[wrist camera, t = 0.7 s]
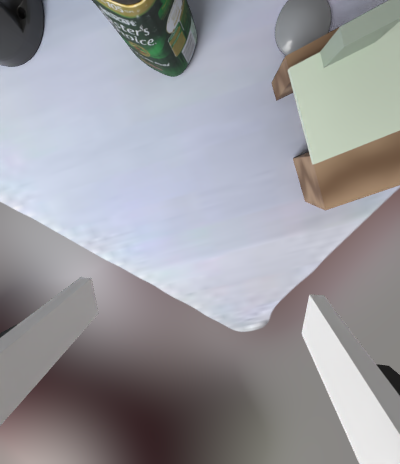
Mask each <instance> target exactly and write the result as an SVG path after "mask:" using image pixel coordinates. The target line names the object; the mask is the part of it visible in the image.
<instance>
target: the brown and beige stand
mask: <svg viewBox="0 0 400 464" xmlns="http://www.w3.org/2000/svg"><path fill="white" fill-rule="evenodd" d="M338 29H339V28H337V29H335V30H333V31H331V32H329V33H328V34H326V35H324V36H322V37H320V38H318V39H316V40H315V41H313V42H311V43H309V44H307V45H305V46H303V47H302V48H300V49H298V50H296V51H294V52H292V53H290V54H289V55H287V56H285V58H284V60H283V62H282V64H281V66H280V68H279V70H278V71H277V73H276V75H275V77H274V79H273V81H272V86H273V90H274V93H275V97H276V101H277V100H279V99H281V98H283V97H285V96H287V95H289V94H291V93H293V89H292V85H291V82H290V78H289V74H288V69H289V68H290V67H292V66H294V65H296V64H298V63H300V62H302V61H304V60H305V59H307V58H309V57H311V56H313V55H315V54H317V53H319V52H320V51H321V50H322V49H323V48H324V46H325V45H326V44H327V43H328V41H329V40H330V39H331V38H332V36H333V35H334V34H335V32H336V31H337V30H338ZM293 160H294V164H295V167H296V171H297V174H298V178H299V181H300V185H301V189H302V192H303V196H304V199H305V202H308V203H310V204H312V205H315V206H317V207H319V208H321V209H324V210H328V209H331V208H334V207H337V206H340V205H343V204H345V203H348V202H351V201H354V200H357V199H360V198H363V197H366V196H369V195H372V194H375V193H378V192H381V191H384V190H387V189H390V188H393V187H396V186H398V185H400V131H397V132H395V133H392V134H390V135H387V136H385V137H382V138H379V139H377V140H374V141H372V142H369V143H367V144H364V145H362V146H359V147H357V148H354V149H352V150H349V151H347V152H344V153H342V154H339V155H337V156H334V157H332V158H329V159H327V160H324V161H322V162H319V163H316V164H312V162H311V158H310V154H309V152H308V153H305V154H303V155H301V156H298V157H296V158H293Z"/></svg>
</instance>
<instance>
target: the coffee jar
mask: <svg viewBox="0 0 400 464" xmlns="http://www.w3.org/2000/svg"><path fill="white" fill-rule="evenodd" d="M92 1H93V2H94V3H95V4H96V5H97V7H98V8H99V9H100V10H101V12H102V13H103V14H104V15H105V17H106V18H107V19H108V20H109V22H110V23H111V24H112V25H113V27H114V28H115V29H116V30H117V32H118V33H119V34H120V35H121V37H122V38H123V39H124V41H125V42H126V43H127V45H128V46H129V47H130V49H131V50H132V51H133V52H134V54H135V55H136V56H137V57H138V58H139V59H140V60H142V61H143V62H144V63H145V64H147V65H148V66H150V67H151V68H153V69H154V70H156V71H158V72H160V73H162V74H165V75H167V76H178V75H180V74H181V73H182V72H183V71H184V70H185V69H186V67H187V66H188V64H189V62H190V60H191V58H192V55H193V52H194V49H195V46H196V41H197V33H196V28H195V24H194V21H193V18H192V14H191V11H190V8H189V6H188V3H187V0H92Z"/></svg>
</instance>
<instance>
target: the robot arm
mask: <svg viewBox="0 0 400 464" xmlns="http://www.w3.org/2000/svg"><path fill="white" fill-rule="evenodd" d="M43 24H44V17H43V7H42V1H41V0H0V65H3V66H8V67H15V66H19V65H22V64H24V63H26V62H27V61H28V60H30V59H31V58H32V56H33V55H34V54H35V52H36V51H37V49H38V47H39V44H40V42H41V38H42V33H43ZM97 315H98V308H97V303H96V298H95V293H94V288H93V283H92V278H82V277H81V278H79V279H78V280H76V281H75V282H74V283H72V284H71V285H70V286H68V287H67V288H66V289H64V290H63V291H62V292H61V293H59V294H58V295H57V296H55V297H54V298H53V299H51V300H50V301H49V302H47V303H46V304H45V305H43V306H42V307H41V308H39V309H38V310H37V311H36V312H34V313H33V314H31V315H30V316H29V317H27V318H26V319H25V320H24V321H22V322H21V323H19V324H18V325H15V326H13V327H11V328H9V329H8V330H6V331H4V332H2V333H1V334H0V425H1V424H2V423H3V422H4V421H5V420H6V419H7V417H8V416H9V415H10V414H11V413H12V412H13V411H14V409H15V408H16V407H17V406H18V405H19V404H20V403H21V401H22V400H23V399H24V398H25V397H26V396H27V395H28V394H29V392H30V391H31V390H32V389H33V388H34V387H35V386H36V384H37V383H38V382H39V381H40V380H41V379H42V378H43V376H44V375H45V374H46V373H47V372H48V371H49V370H50V368H51V367H52V366H53V365H54V364H55V363H56V362H57V360H58V359H59V358H60V357H61V356H62V355H63V354H64V352H65V351H66V350H67V349H68V348H69V347H70V346H71V344H72V343H73V342H74V341H75V340H76V339H77V338H78V336H79V335H80V334H81V333H82V332H83V330H85V328H86V327H87V326H88V325H89V324H90V323H91V322H92V320H93V319H94V318H95V317H96V316H97ZM302 336H303V338H304V340H305V342H306V344H307V347H308V349H309V351H310V354H311V356H312V358H313V360H314V363H315V365H316V367H317V369H318V372H319V374H320V376H321V378H322V381H323V383H324V385H325V387H326V389H327V392H328V393H329V396H330V398H331V401H332V403H333V405H334V407H335V410H336V412H337V414H338V417H339V419H340V421H341V423H342V425H343V428H344V430H345V432H346V434H347V437H348V439H349V441H350V443H351V446H352V448H353V450H354V452H355V455H356V457H357V459H358V461H359V464H400V375H399V374H398V373H397V372H395V371H394V370H393V369H392V368H391V367H389V366H385V365H377V364H375V362H374V361H373V360H372V358H371V357H370V356H369V354H368V353H367V352H366V351H365V349H364V348H363V346H362V345H361V344H360V342H359V341H358V340H357V338H356V337H355V336H354V335H353V333H352V332H351V330H350V329H349V328H348V327H347V325H346V324H345V323H344V321H343V320H342V319H341V317H340V316H339V314H338V313H337V312H336V310H335V309H334V308H333V306H332V305H331V304H330V303H329V301H328V300H327V299H326V297H325V296H323V295H309V300H308V305H307V310H306V315H305V320H304V325H303V329H302Z"/></svg>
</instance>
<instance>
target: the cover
mask: <svg viewBox="0 0 400 464" xmlns="http://www.w3.org/2000/svg"><path fill="white" fill-rule="evenodd" d="M288 74H289V78H290V82H291V85H292V89H293V93H294V97H295V101H296V104H297V108H298V112H299V116H300V120H301V123H302V127H303V131H304V135H305V139H306V143H307V146H308V150H309V154H310V158H311V162H312V164H316V163H319V162H322V161H324V160H327V159H329V158H332V157H334V156H337V155H339V154H342V153H344V152H347V151H349V150H352V149H354V148H357V147H359V146H362V145H364V144H367V143H369V142H372V141H374V140H377V139H379V138H382V137H385V136H387V135H390V134H392V133H395V132H397V131H400V0H389V1H387V2H385V3H383V4H381V5H379V6H378V7H376V8H374V9H372V10H370V11H368V12H366V13H365V14H363V15H361V16H359V17H357V18H355V19H353V20H352V21H350V22H348V23H346V24H344V25H342V26H340V27H339V29H338V30H337V31H336V32H335V34H334V35H333V36H332V38H331V39H330V40H329V41H328V43H327V44H326V45H325V46H324V48H323V49H322V50H321V51H320V52H319V53H317V54H315V55H313V56H311V57H309V58H307V59H305V60H304V61H302V62H300V63H298V64H296V65H294V66H292V67H290V68H289V69H288Z"/></svg>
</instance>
